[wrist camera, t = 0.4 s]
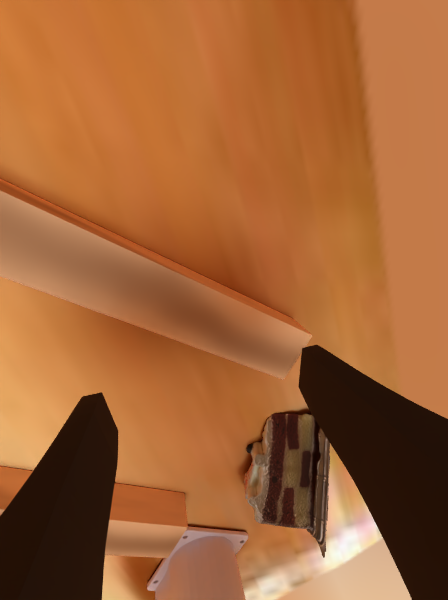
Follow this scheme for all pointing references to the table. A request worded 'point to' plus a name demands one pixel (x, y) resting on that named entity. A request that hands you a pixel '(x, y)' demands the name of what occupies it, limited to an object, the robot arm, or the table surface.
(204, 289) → the shelf board
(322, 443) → the chocolate cake
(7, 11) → the table surface
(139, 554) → the shelf board
